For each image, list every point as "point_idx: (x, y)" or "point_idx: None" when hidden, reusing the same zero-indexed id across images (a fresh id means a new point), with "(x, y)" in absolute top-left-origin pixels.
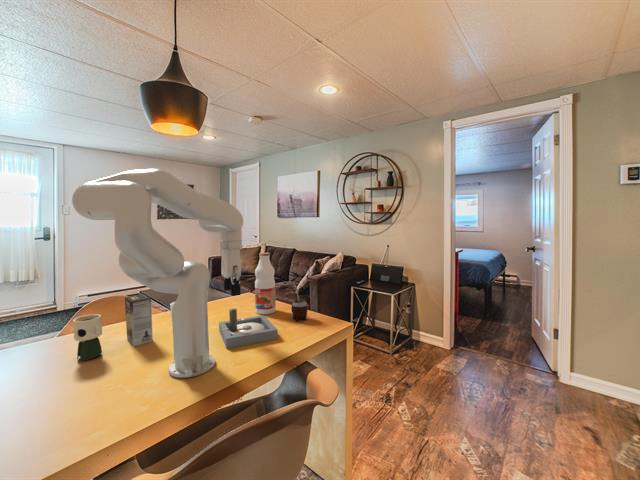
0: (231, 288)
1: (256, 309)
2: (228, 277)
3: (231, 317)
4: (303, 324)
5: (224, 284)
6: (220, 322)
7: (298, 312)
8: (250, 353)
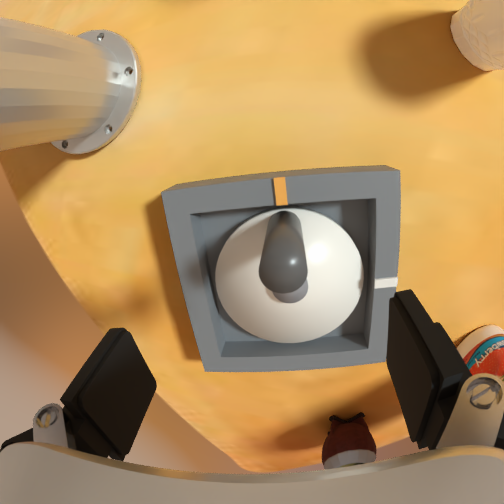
0: (82, 372)
1: (488, 334)
2: (11, 447)
3: (265, 242)
4: (300, 423)
5: (420, 335)
6: (393, 177)
7: (326, 443)
8: (126, 257)
